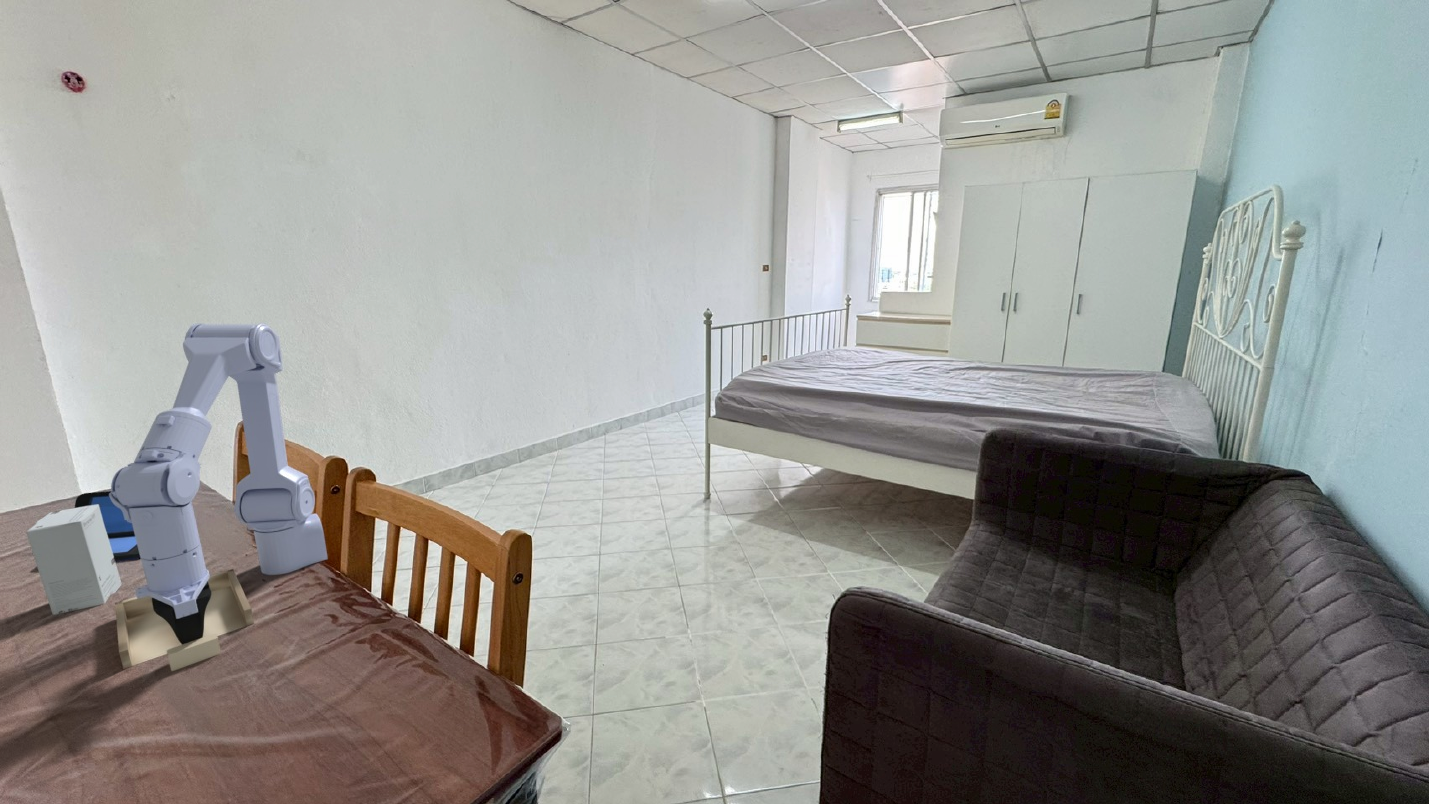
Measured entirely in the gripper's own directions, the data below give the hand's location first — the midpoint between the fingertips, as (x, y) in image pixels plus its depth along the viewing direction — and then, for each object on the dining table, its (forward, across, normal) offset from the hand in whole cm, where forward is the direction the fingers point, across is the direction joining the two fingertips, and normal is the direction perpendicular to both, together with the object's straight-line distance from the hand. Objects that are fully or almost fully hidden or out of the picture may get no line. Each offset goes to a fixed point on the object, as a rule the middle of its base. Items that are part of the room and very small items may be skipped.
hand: (192, 639), depth 77 cm
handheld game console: (+4, -51, -6) cm, 51 cm away
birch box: (+3, -10, 0) cm, 11 cm away
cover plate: (+4, +4, 0) cm, 6 cm away
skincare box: (+3, -30, -10) cm, 31 cm away
